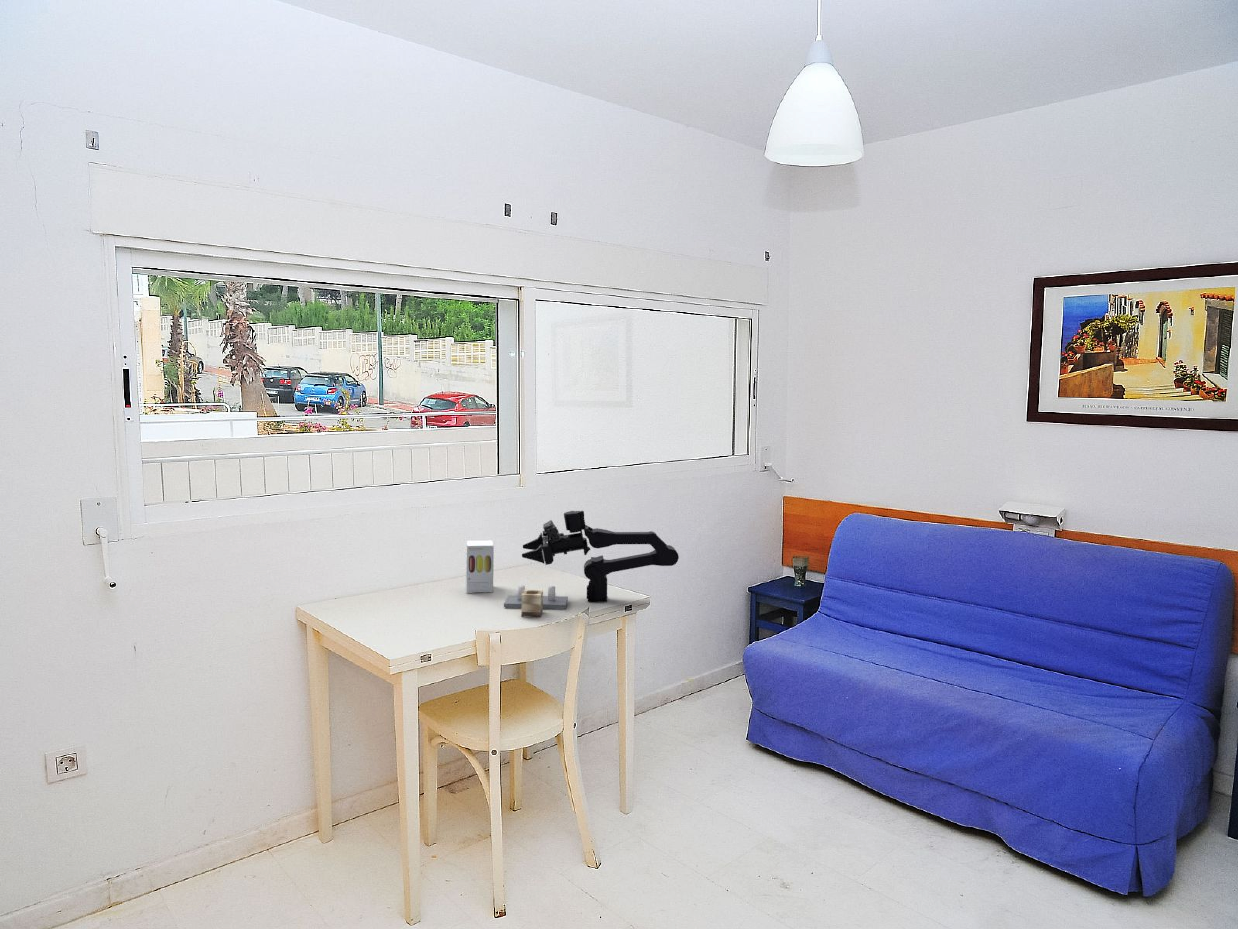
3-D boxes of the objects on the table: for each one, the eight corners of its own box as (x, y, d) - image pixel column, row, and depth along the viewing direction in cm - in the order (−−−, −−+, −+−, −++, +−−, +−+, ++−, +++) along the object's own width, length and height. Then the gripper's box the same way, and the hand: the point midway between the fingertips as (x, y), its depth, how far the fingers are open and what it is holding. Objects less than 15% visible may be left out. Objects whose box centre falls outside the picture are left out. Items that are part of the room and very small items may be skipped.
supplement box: (466, 593, 279) (465, 545, 277) (465, 586, 288) (465, 540, 286) (494, 592, 281) (494, 545, 279) (492, 585, 290) (492, 539, 288)
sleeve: (542, 611, 259) (542, 590, 259) (540, 617, 253) (540, 595, 253) (524, 611, 259) (524, 589, 259) (521, 616, 253) (521, 594, 253)
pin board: (567, 600, 272) (568, 583, 272) (565, 609, 262) (565, 591, 262) (508, 599, 272) (508, 582, 272) (503, 608, 263) (503, 590, 262)
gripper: (563, 512, 278) (519, 520, 278) (565, 528, 260) (517, 537, 259) (569, 543, 281) (524, 550, 280) (570, 561, 263) (523, 569, 262)
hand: (522, 551), depth 270 cm, fingers open, 9 cm apart
